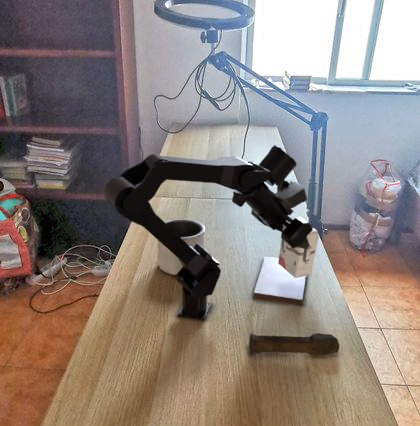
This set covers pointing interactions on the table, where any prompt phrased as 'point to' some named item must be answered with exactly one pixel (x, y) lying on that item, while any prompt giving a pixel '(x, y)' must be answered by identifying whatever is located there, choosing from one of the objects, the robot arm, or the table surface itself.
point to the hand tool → (295, 344)
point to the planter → (189, 233)
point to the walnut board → (278, 283)
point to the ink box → (298, 256)
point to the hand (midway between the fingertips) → (298, 239)
